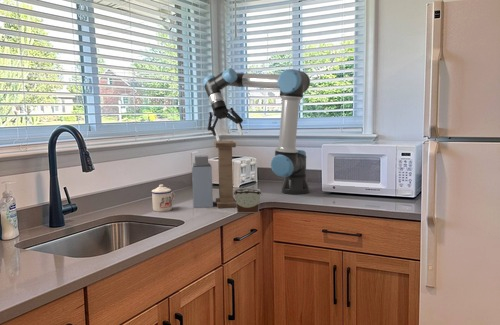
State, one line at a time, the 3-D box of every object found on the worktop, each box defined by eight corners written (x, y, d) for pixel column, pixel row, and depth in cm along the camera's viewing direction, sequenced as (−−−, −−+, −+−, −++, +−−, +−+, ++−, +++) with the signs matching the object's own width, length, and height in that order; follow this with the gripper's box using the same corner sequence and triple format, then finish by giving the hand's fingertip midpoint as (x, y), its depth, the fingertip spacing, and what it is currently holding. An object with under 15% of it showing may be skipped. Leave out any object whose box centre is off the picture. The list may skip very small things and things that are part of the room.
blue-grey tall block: (193, 202, 216) (191, 163, 214) (211, 202, 217) (210, 162, 215) (193, 207, 205) (192, 166, 203) (212, 206, 206) (211, 165, 204)
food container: (262, 209, 198) (262, 187, 197) (261, 212, 192) (261, 190, 191) (235, 209, 199) (235, 187, 198) (233, 212, 193) (233, 190, 192)
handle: (194, 161, 223) (194, 153, 222) (206, 160, 224) (206, 153, 223) (195, 165, 204) (195, 157, 204) (208, 165, 205) (208, 156, 204)
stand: (215, 202, 216) (214, 141, 213) (233, 201, 218) (232, 141, 214) (217, 208, 203) (215, 143, 199) (237, 207, 204) (235, 142, 200)
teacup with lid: (160, 212, 196) (159, 187, 194) (148, 210, 201) (147, 185, 200) (181, 208, 205) (180, 183, 203) (168, 205, 210) (167, 181, 209)
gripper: (236, 101, 248) (249, 135, 244) (194, 110, 239) (207, 145, 235) (239, 95, 241) (253, 130, 237) (197, 104, 232) (210, 140, 228)
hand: (230, 137), depth 236 cm, fingers open, 13 cm apart
